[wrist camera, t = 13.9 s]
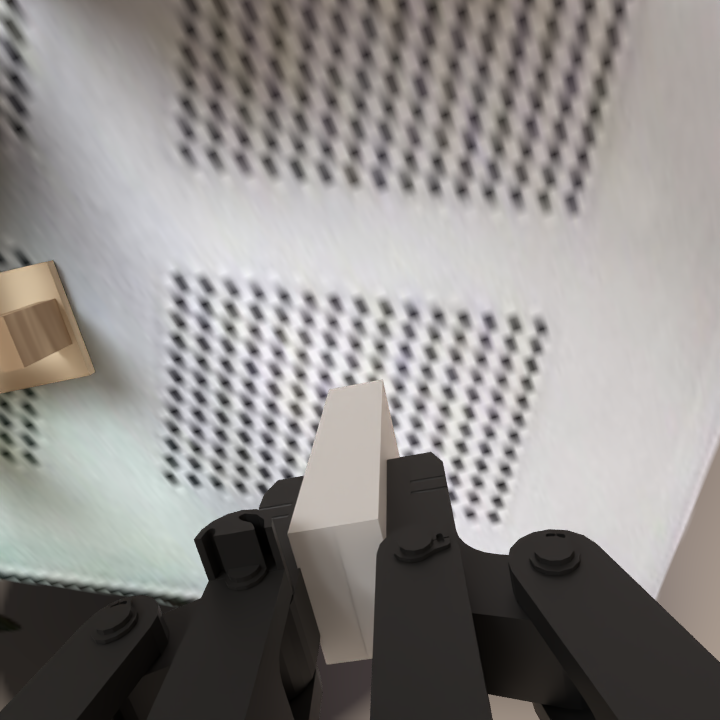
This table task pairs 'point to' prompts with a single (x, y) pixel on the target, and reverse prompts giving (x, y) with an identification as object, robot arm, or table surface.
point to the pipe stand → (38, 330)
